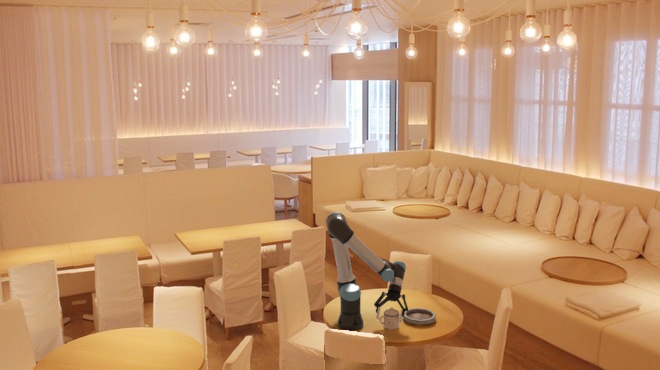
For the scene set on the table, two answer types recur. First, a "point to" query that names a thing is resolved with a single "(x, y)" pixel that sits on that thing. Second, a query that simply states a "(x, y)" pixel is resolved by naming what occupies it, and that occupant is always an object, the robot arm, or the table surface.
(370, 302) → the table surface
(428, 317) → the round grey tray
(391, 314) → the teacup with lid
